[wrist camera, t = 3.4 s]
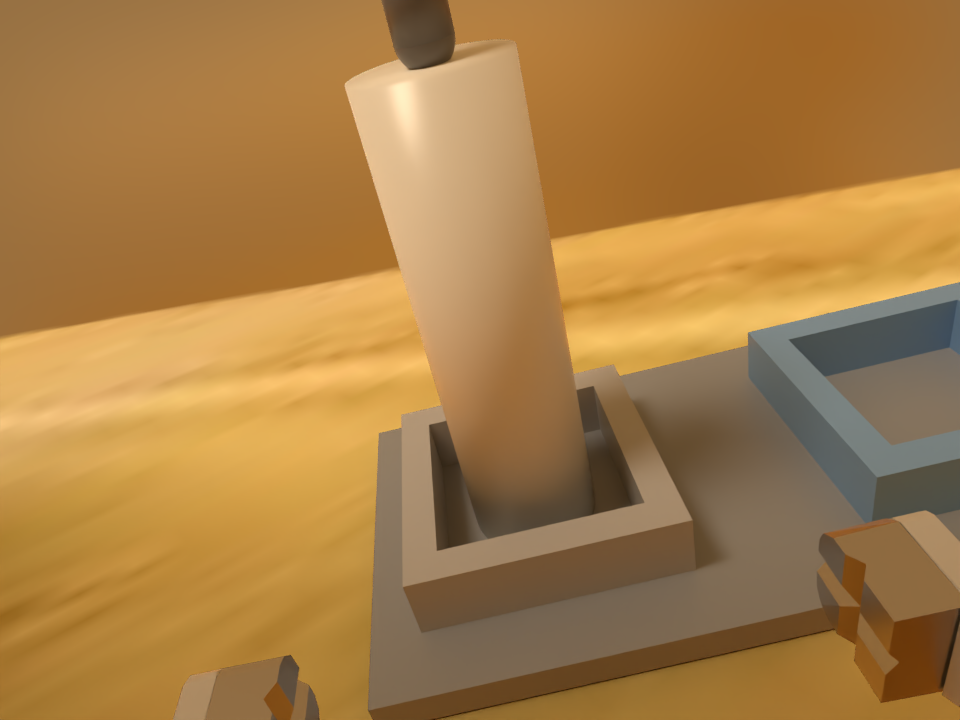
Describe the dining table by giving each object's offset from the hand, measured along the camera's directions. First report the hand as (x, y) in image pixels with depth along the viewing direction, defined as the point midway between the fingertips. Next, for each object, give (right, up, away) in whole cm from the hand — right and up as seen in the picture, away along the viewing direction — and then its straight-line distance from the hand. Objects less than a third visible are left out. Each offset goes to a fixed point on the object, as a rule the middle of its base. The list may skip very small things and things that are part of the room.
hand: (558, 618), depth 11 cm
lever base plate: (+7, 0, +13) cm, 15 cm away
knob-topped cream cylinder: (+1, -1, +13) cm, 13 cm away
